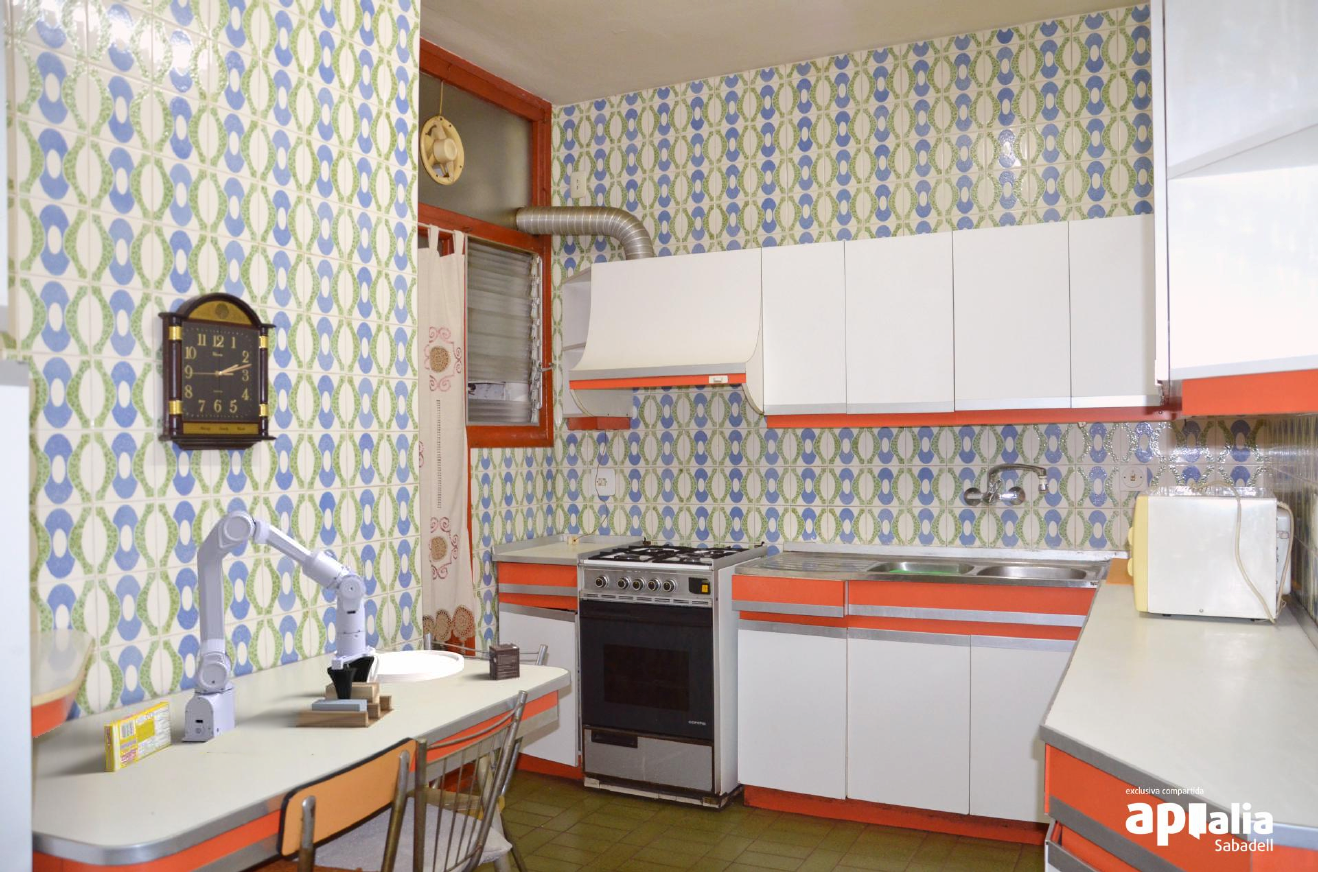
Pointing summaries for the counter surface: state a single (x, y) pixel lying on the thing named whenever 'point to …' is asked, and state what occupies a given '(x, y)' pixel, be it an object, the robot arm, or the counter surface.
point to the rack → (347, 716)
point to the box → (504, 661)
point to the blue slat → (339, 705)
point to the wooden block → (358, 691)
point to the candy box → (137, 736)
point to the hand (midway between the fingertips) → (352, 696)
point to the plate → (417, 665)
